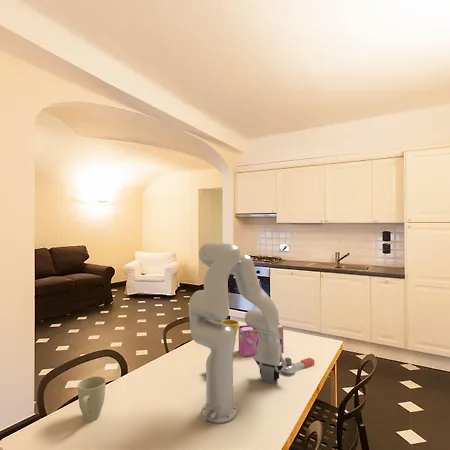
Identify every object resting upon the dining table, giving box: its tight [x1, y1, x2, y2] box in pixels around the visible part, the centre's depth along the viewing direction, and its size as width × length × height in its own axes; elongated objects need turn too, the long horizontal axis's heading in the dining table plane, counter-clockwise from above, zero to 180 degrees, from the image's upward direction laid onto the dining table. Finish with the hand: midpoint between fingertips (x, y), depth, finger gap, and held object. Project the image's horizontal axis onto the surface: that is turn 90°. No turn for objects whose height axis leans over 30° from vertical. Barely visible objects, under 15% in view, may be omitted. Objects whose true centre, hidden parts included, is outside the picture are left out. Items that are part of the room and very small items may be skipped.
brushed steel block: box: [260, 363, 277, 385], centre depth 132 cm, size 6×6×7 cm
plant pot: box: [220, 319, 240, 335], centre depth 181 cm, size 10×10×10 cm
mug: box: [77, 375, 107, 422], centre depth 106 cm, size 11×10×12 cm
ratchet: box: [280, 357, 315, 376], centre depth 143 cm, size 19×6×6 cm, turn 122°
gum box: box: [238, 323, 284, 358], centre depth 162 cm, size 24×8×14 cm, turn 104°
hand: (269, 377), depth 132 cm, fingers closed on brushed steel block, 5 cm apart
